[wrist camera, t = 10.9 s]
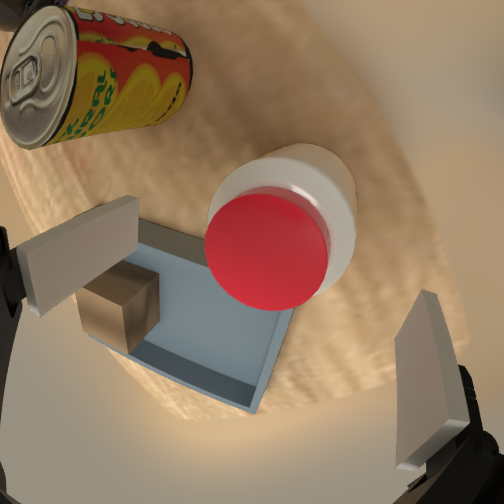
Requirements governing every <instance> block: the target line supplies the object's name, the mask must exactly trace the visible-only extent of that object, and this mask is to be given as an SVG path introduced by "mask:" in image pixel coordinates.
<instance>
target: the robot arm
mask: <svg viewBox="0 0 504 504" xmlns="http://www.w3.org/2000/svg"><path fill="white" fill-rule="evenodd" d="M51 2H52V0H0V30H2V31H6V32H16V31H17V29H18V27H19V26H20V25H21V23H22V22H23V21H24V20H25V19H26V17H27V16H28V15H29V14H31V13H32V12H33V11H35V10H36V9H37V8H39V7H41V6H44V5H47V4H50V3H51ZM138 217H139V198H137V197H133V196H130V195H126V196H123V197H121V198H118V199H116V200H114V201H111V202H109V203H106V204H104V205H102V206H100V207H97V208H95V209H93V210H90V211H88V212H86V213H84V214H81V215H79V216H77V217H75V218H73V219H71V220H68V221H66V222H64V223H62V224H60V225H58V226H56V227H54V228H52V229H50V230H47V231H45V232H43V233H41V234H39V235H37V236H35V237H33V238H31V239H30V240H28V241H26V242H24V243H22V244H20V245H18V246H16V247H15V248H13V249H11V250H10V249H9V243H8V238H7V232H6V231H7V230H6V228H5V227H2V226H0V420H1V412H2V402H3V396H4V389H5V382H6V377H7V371H8V366H9V361H10V355H11V351H12V347H13V342H14V338H15V334H16V330H17V326H18V322H19V318H20V315H21V312H22V301H21V300H22V299H24V298H25V297H27V301H28V305H29V309H30V310H32V311H33V312H34V313H35V314H37V315H38V316H39V317H42V316H43V315H44V314H46V313H47V312H48V311H50V310H51V309H52V308H54V307H55V306H57V305H58V304H59V303H60V302H62V301H63V300H65V299H66V298H68V297H69V296H70V295H72V294H73V293H75V292H76V291H77V290H79V289H80V288H82V287H83V286H84V285H86V284H87V283H89V282H90V281H92V280H93V279H94V278H96V277H97V276H99V275H100V274H102V273H103V272H105V271H106V270H107V269H109V268H110V267H112V266H113V265H115V264H116V263H118V262H119V261H121V260H122V259H124V258H125V257H127V256H128V255H130V254H131V253H133V252H134V251H136V250H137V249H138ZM395 353H396V374H397V443H396V462H395V468H399V469H406V470H413V471H415V470H417V469H418V468H419V467H421V466H422V465H423V464H424V463H426V473H424V474H423V475H422V476H420V477H419V478H417V479H416V480H415V481H413V482H412V483H411V484H409V485H408V487H409V489H408V490H407V491H406V492H405V493H404V494H403V495H402V496H400V497H399V498H398V499H397V500H396V501H395V502H394V503H393V504H504V455H502V454H500V453H499V447H498V444H497V442H496V440H495V439H494V437H493V436H492V435H491V434H489V433H488V432H486V431H483V427H482V422H481V417H480V412H479V407H478V403H477V400H476V394H475V391H474V386H473V382H472V378H471V376H470V374H469V373H468V371H467V369H466V368H465V366H462V365H458V363H457V359H456V355H455V352H454V348H453V344H452V341H451V337H450V334H449V331H448V327H447V324H446V321H445V318H444V315H443V312H442V309H441V306H440V303H439V300H438V297H437V294H435V293H432V292H429V291H426V290H423V289H421V291H420V293H419V295H418V297H417V299H416V301H415V303H414V304H413V306H412V308H411V310H410V312H409V314H408V316H407V318H406V319H405V321H404V323H403V325H402V327H401V329H400V330H399V332H398V334H397V336H396V337H395ZM0 504H21V503H19V502H18V501H16V500H15V499H13V498H12V497H11V496H9V495H8V494H7V492H6V478H5V473H4V470H3V467H2V465H1V462H0Z"/></svg>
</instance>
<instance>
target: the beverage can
mask: <svg viewBox="0 0 504 504" xmlns="http://www.w3.org/2000/svg"><path fill="white" fill-rule="evenodd" d="M192 75H193V68H192V58H191V55H190V52H189V49H188V47H187V46H186V44H185V43H184V41H183V40H182V39H181V38H180V37H179V36H177V35H176V34H174V33H173V32H171V31H167V30H164V29H161V28H158V27H155V26H152V25H148V24H145V23H141V22H138V21H134V20H130V19H127V18H123V17H119V16H115V15H110V14H106V13H102V12H97V11H92V10H87V9H82V8H76V7H70V6H64V5H56V4H47V5H44V6H41V7H39V8H37V9H36V10H35V11H33V12H32V13H31V14H29V15H28V16H27V17H26V19H25V20H24V21H23V22H22V23H21V25H20V26H19V27H18V29H17V31H16V32H15V34H14V36H13V37H12V39H11V41H10V44H9V46H8V49H7V51H6V54H5V57H4V60H3V64H2V69H1V73H0V111H1V117H2V121H3V124H4V126H5V129H6V132H7V133H8V135H9V136H10V138H11V139H12V141H13V142H14V143H15V144H17V145H18V146H19V147H20V148H24V149H28V150H31V149H35V148H39V147H43V146H47V145H51V144H55V143H59V142H63V141H68V140H72V139H77V138H82V137H86V136H91V135H97V134H102V133H107V132H113V131H119V130H125V129H132V128H139V127H146V126H152V125H157V124H159V123H161V122H163V121H165V120H167V119H168V118H169V117H170V116H172V115H173V114H174V113H175V112H176V111H177V110H178V108H179V107H180V106H181V104H182V103H183V102H184V100H185V98H186V96H187V93H188V91H189V89H190V85H191V80H192Z"/></svg>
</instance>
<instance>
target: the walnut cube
mask: <svg viewBox="0 0 504 504" xmlns="http://www.w3.org/2000/svg"><path fill="white" fill-rule="evenodd" d="M75 294H76V299H77V304H78V309H79V314H80V318H81V323H82V327H83V331H85V332H87V333H88V334H90V335H92V336H94V337H95V338H97V339H99V340H101V341H103V342H104V343H106V344H108V345H110V346H112V347H114V348H115V349H117V350H119V351H121V352H123V353H125V354H127V355H129V354H130V353H131V352H132V351H133V350H134V348H135V347H136V346H137V345H138V344H139V343H140V342H141V341H142V340H143V339H144V338H145V336H146V335H147V334H148V333H149V332H150V331H151V330H152V329H153V328H154V327H155V326H156V324H157V323H158V322H159V321H160V297H159V273H156V272H154V271H151V270H148V269H146V268H143V267H140V266H138V265H135V264H132V263H130V262H127V261H125V260H121V261H119V262H118V263H116V264H115V265H113V266H112V267H110V268H109V269H107V270H106V271H105V272H103V273H102V274H100V275H99V276H97V277H96V278H94V279H93V280H92V281H90V282H89V283H87V284H86V285H84V286H83V287H82V288H80V289H79V290H77V291H76V292H75Z"/></svg>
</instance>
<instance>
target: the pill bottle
mask: <svg viewBox="0 0 504 504" xmlns="http://www.w3.org/2000/svg"><path fill="white" fill-rule="evenodd" d="M356 222H357V199H356V188H355V183H354V180H353V177H352V175H351V173H350V171H349V169H348V168H347V166H346V164H345V163H344V162H343V161H342V160H341V159H340V158H339V157H338V156H337V155H335V154H334V153H332V152H331V151H330V150H328V149H325V148H323V147H321V146H318V145H313V144H309V143H297V144H292V145H287V146H285V147H282V148H280V149H277V150H275V151H273V152H270V153H268V154H266V155H263V156H261V157H259V158H257V159H254V160H252V161H250V162H248V163H245V164H243V165H241V166H240V167H238V168H237V169H235V170H234V171H233V172H231V173H230V174H229V175H228V176H227V177H226V178H225V179H224V180H223V181H222V182H221V183H220V185H219V186H218V188H217V190H216V192H215V193H214V195H213V197H212V200H211V203H210V206H209V210H208V218H207V232H206V235H205V255H206V259H207V263H208V266H209V268H210V270H211V272H212V274H213V276H214V278H215V279H216V281H217V282H218V283H219V285H220V286H221V287H222V288H223V289H224V290H225V291H226V292H227V293H228V294H229V295H230V296H232V297H233V298H235V299H236V300H237V301H239V302H241V303H243V304H245V305H247V306H250V307H253V308H256V309H260V310H267V311H282V310H287V309H291V308H294V307H296V306H299V305H301V304H303V303H304V302H306V301H307V300H308V299H310V298H312V297H314V296H316V295H318V294H321V293H323V292H324V291H326V290H327V289H328V288H330V287H331V286H333V285H334V284H335V283H336V282H337V281H338V280H339V278H340V277H341V276H342V275H343V274H344V272H345V271H346V269H347V267H348V265H349V264H350V262H351V259H352V256H353V253H354V250H355V242H356Z"/></svg>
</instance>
